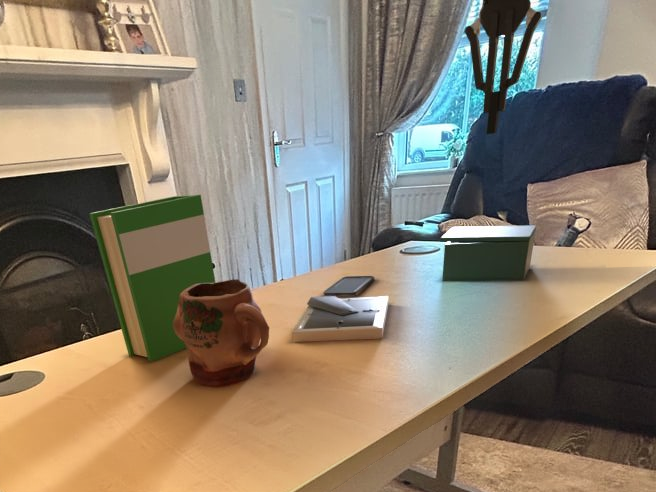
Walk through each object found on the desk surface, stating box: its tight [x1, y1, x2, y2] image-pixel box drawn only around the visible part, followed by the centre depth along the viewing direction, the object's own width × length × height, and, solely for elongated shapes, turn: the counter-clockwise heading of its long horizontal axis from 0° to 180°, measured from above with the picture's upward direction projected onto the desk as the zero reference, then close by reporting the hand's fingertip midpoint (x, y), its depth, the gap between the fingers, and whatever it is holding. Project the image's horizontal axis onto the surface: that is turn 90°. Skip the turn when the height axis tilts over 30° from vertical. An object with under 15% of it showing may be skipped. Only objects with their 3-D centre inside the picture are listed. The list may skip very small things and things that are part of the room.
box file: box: [441, 230, 537, 282], centre depth 116 cm, size 17×13×8 cm
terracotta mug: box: [173, 278, 270, 388], centre depth 80 cm, size 20×12×14 cm, turn 49°
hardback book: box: [89, 194, 216, 363], centre depth 95 cm, size 18×7×24 cm, turn 136°
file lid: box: [439, 224, 537, 243], centre depth 114 cm, size 18×13×1 cm
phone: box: [323, 275, 375, 298], centre depth 121 cm, size 8×1×15 cm
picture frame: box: [291, 295, 389, 343], centre depth 100 cm, size 16×3×21 cm
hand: (491, 133), depth 104 cm, fingers closed
